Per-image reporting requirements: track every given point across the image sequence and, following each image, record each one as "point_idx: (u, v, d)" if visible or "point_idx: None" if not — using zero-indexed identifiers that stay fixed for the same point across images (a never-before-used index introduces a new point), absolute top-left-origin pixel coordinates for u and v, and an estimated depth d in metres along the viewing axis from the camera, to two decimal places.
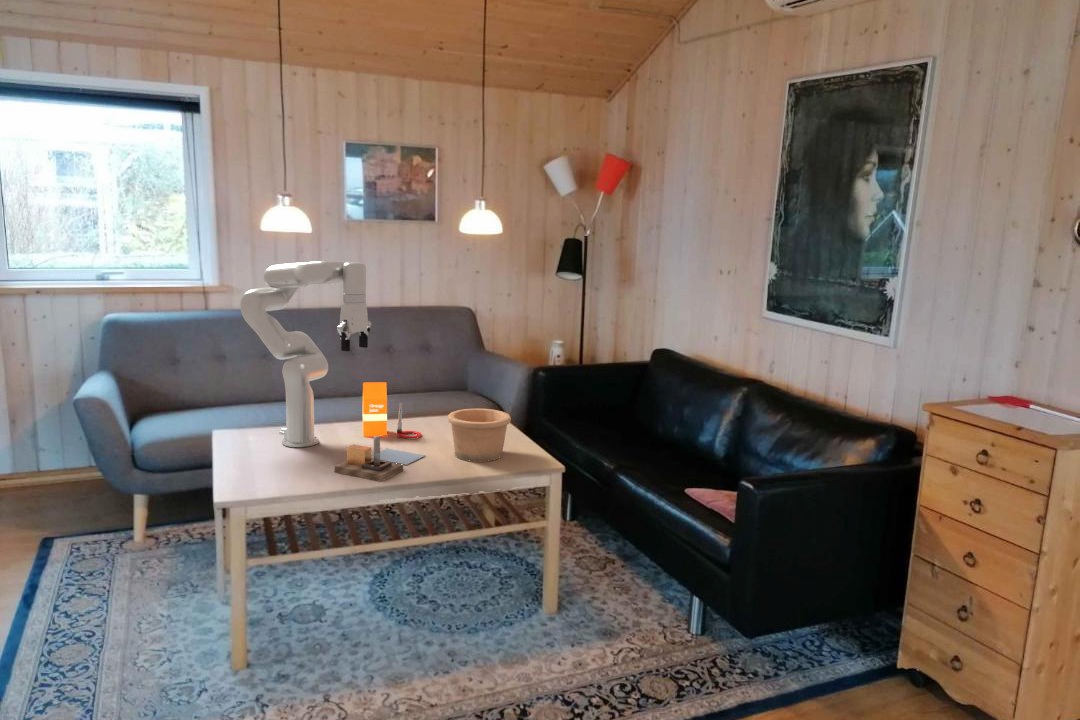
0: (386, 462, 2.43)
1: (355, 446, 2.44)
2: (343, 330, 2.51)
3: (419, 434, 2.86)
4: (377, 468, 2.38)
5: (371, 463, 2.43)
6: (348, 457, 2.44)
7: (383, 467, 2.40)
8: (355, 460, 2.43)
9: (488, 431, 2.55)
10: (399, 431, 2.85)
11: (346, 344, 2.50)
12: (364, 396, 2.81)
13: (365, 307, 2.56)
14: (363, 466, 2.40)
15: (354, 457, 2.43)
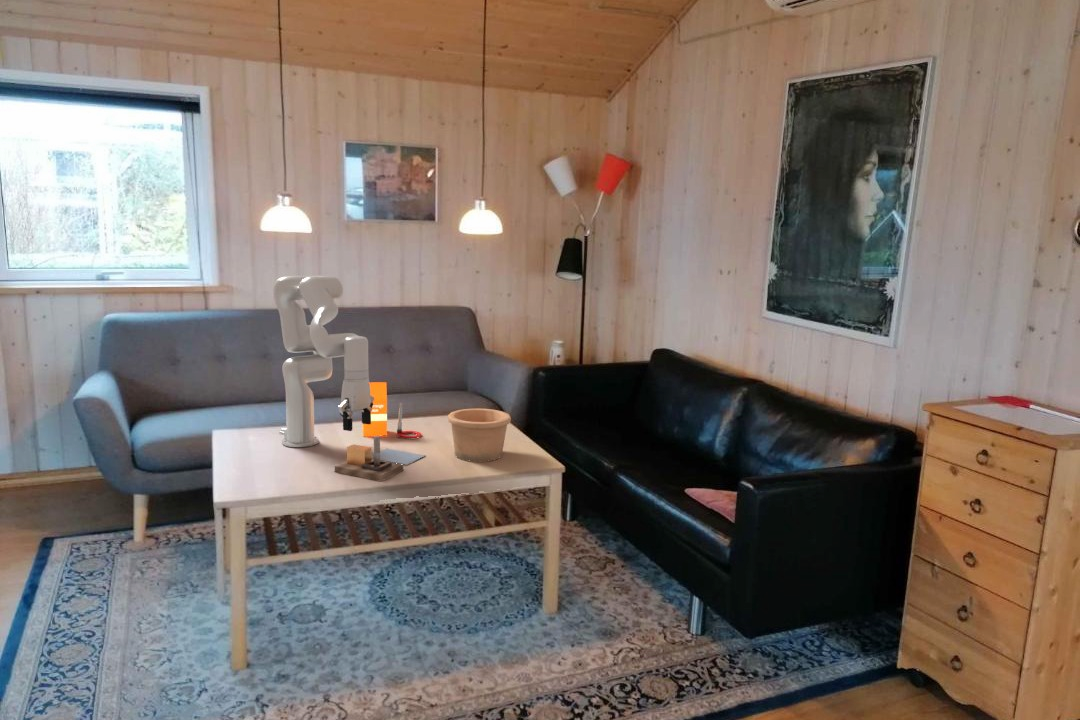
0: (386, 462, 2.43)
1: (355, 446, 2.44)
2: (345, 408, 2.38)
3: (419, 434, 2.86)
4: (377, 468, 2.38)
5: (371, 463, 2.43)
6: (348, 457, 2.44)
7: (383, 467, 2.40)
8: (355, 460, 2.43)
9: (488, 431, 2.55)
10: (399, 431, 2.85)
11: (348, 423, 2.37)
12: None
13: (368, 383, 2.42)
14: (363, 466, 2.40)
15: (354, 457, 2.43)
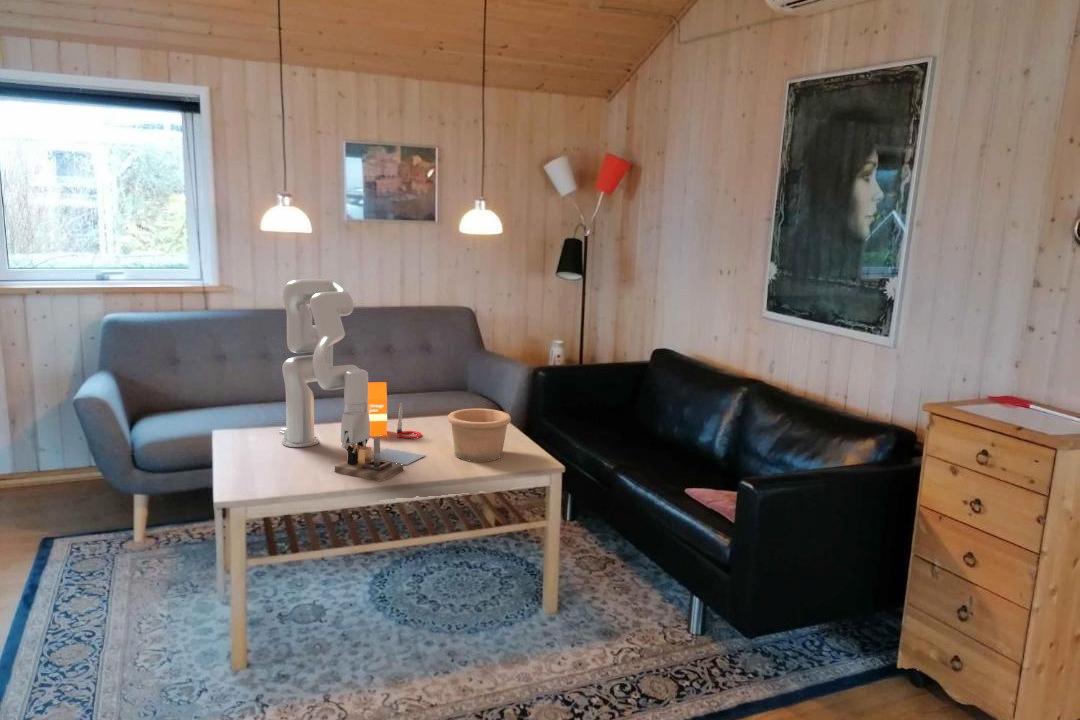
0: (386, 462, 2.43)
1: None
2: None
3: (419, 434, 2.86)
4: (377, 468, 2.38)
5: (371, 463, 2.43)
6: None
7: (383, 467, 2.40)
8: None
9: (488, 431, 2.55)
10: (399, 431, 2.85)
11: (353, 457, 2.42)
12: None
13: (367, 415, 2.44)
14: (363, 466, 2.40)
15: None
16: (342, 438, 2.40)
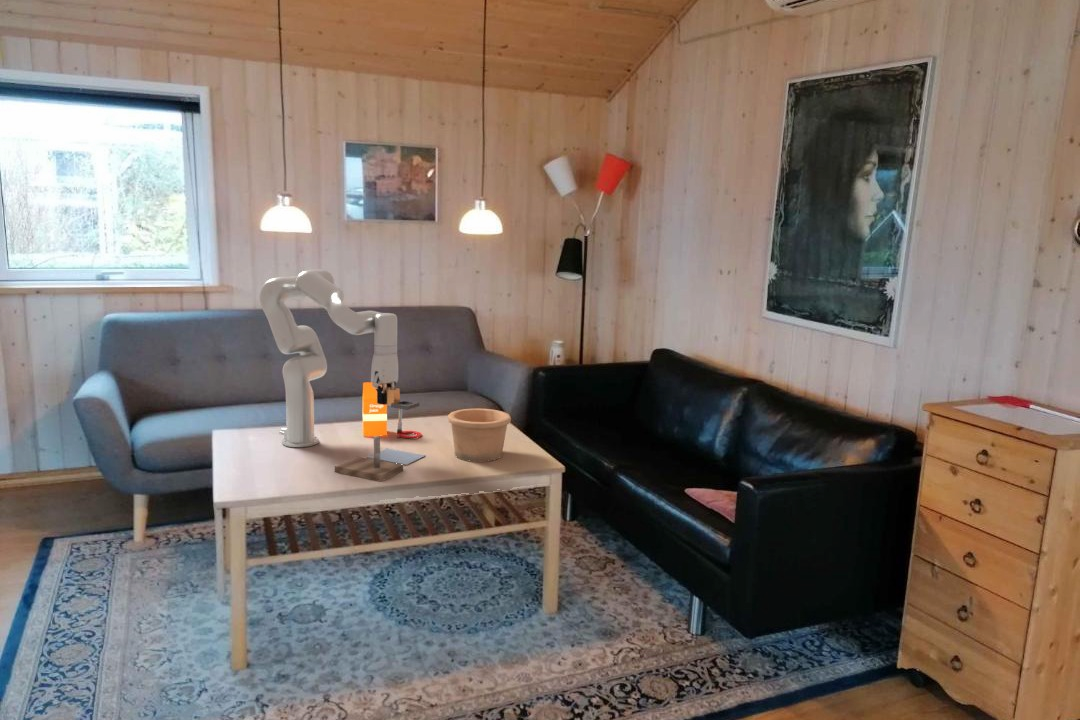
0: (414, 402, 2.55)
1: None
2: None
3: (419, 434, 2.86)
4: (406, 407, 2.49)
5: (400, 403, 2.55)
6: None
7: (411, 406, 2.51)
8: None
9: (488, 431, 2.55)
10: (399, 431, 2.85)
11: (382, 397, 2.54)
12: (364, 396, 2.81)
13: (396, 357, 2.56)
14: (392, 405, 2.52)
15: None
16: (372, 378, 2.51)
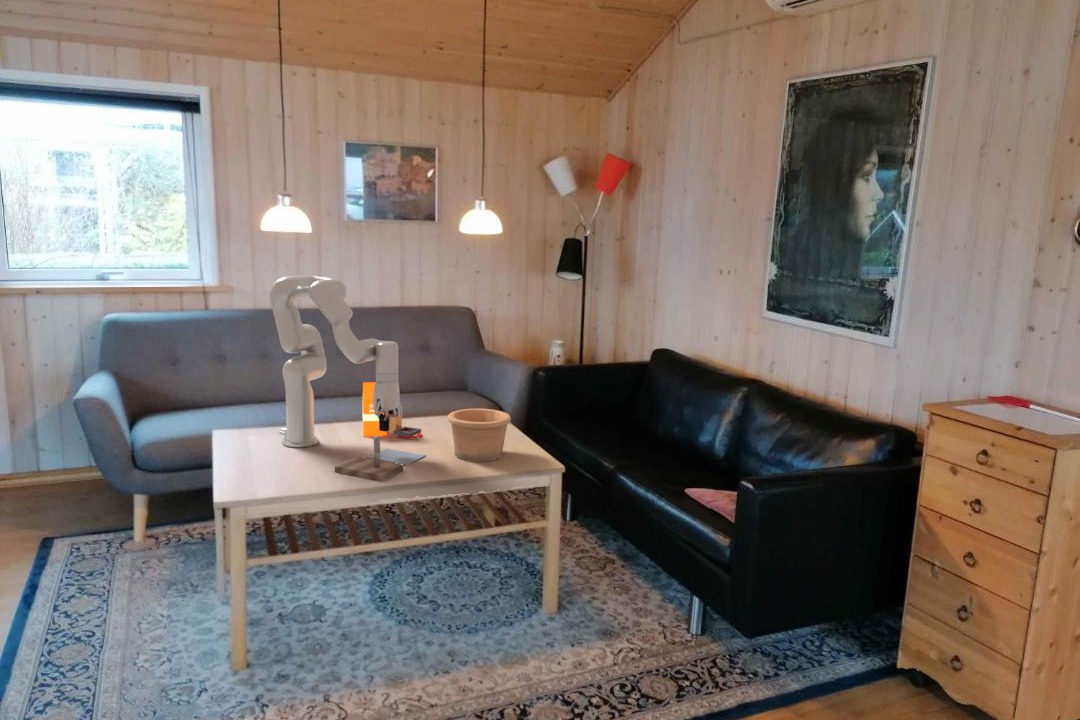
0: (416, 429, 2.57)
1: None
2: None
3: (419, 434, 2.86)
4: (408, 434, 2.52)
5: (402, 430, 2.57)
6: None
7: (413, 433, 2.54)
8: None
9: (488, 431, 2.55)
10: None
11: (384, 425, 2.56)
12: (364, 396, 2.81)
13: (397, 385, 2.58)
14: (394, 432, 2.54)
15: None
16: (374, 406, 2.54)
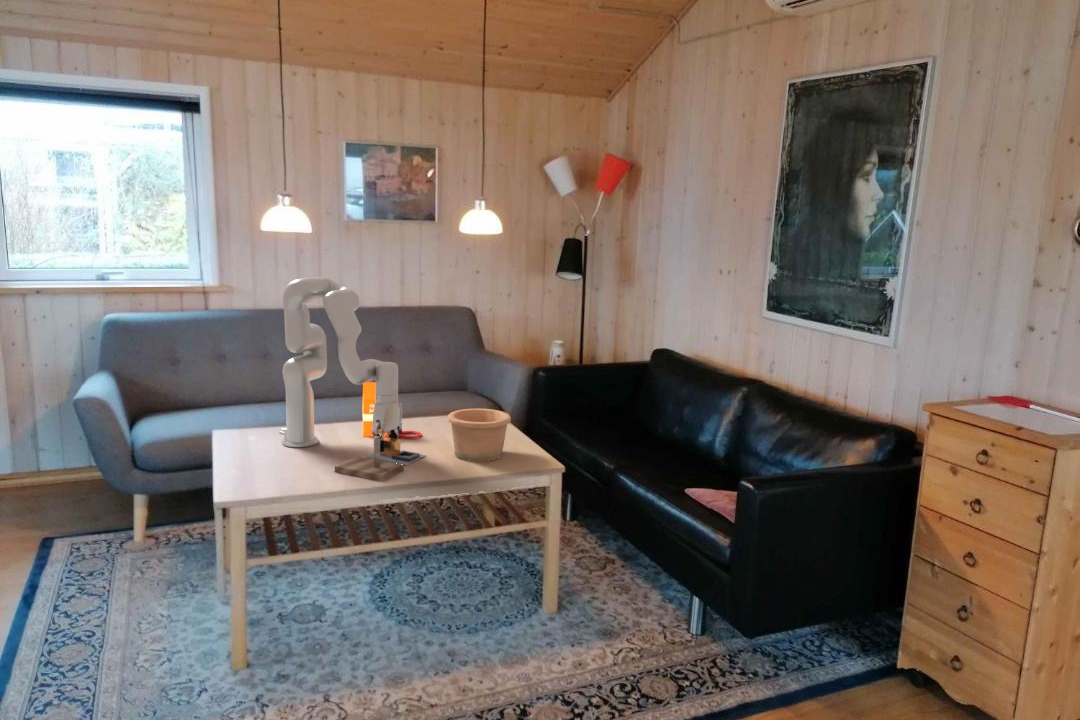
0: (414, 453, 2.59)
1: (385, 439, 2.60)
2: None
3: (419, 434, 2.86)
4: (407, 459, 2.54)
5: (400, 454, 2.59)
6: None
7: (412, 458, 2.55)
8: (385, 452, 2.59)
9: (488, 431, 2.55)
10: (399, 431, 2.85)
11: (381, 445, 2.56)
12: (364, 396, 2.81)
13: (397, 405, 2.60)
14: (393, 457, 2.56)
15: (385, 449, 2.59)
16: (374, 427, 2.55)
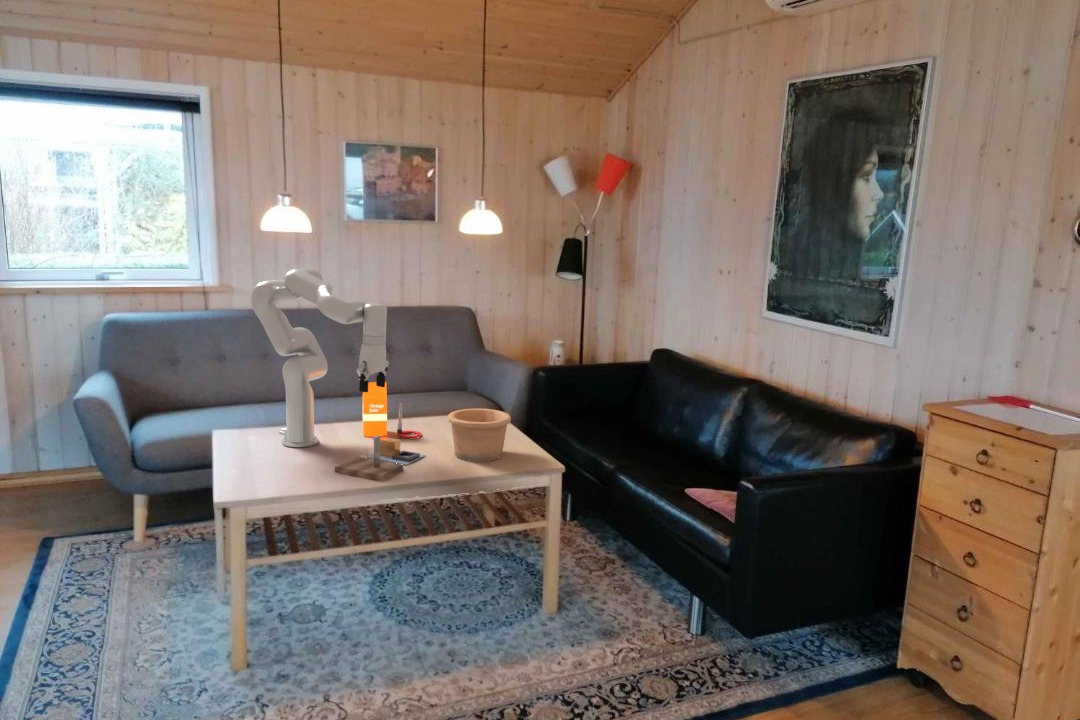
0: (414, 453, 2.59)
1: (385, 439, 2.60)
2: (362, 371, 2.52)
3: (419, 434, 2.86)
4: (407, 459, 2.54)
5: (400, 454, 2.59)
6: None
7: (412, 458, 2.55)
8: (385, 452, 2.59)
9: (488, 431, 2.55)
10: (399, 431, 2.85)
11: (364, 385, 2.51)
12: (364, 396, 2.81)
13: (384, 348, 2.56)
14: (393, 457, 2.56)
15: (385, 449, 2.59)
16: None
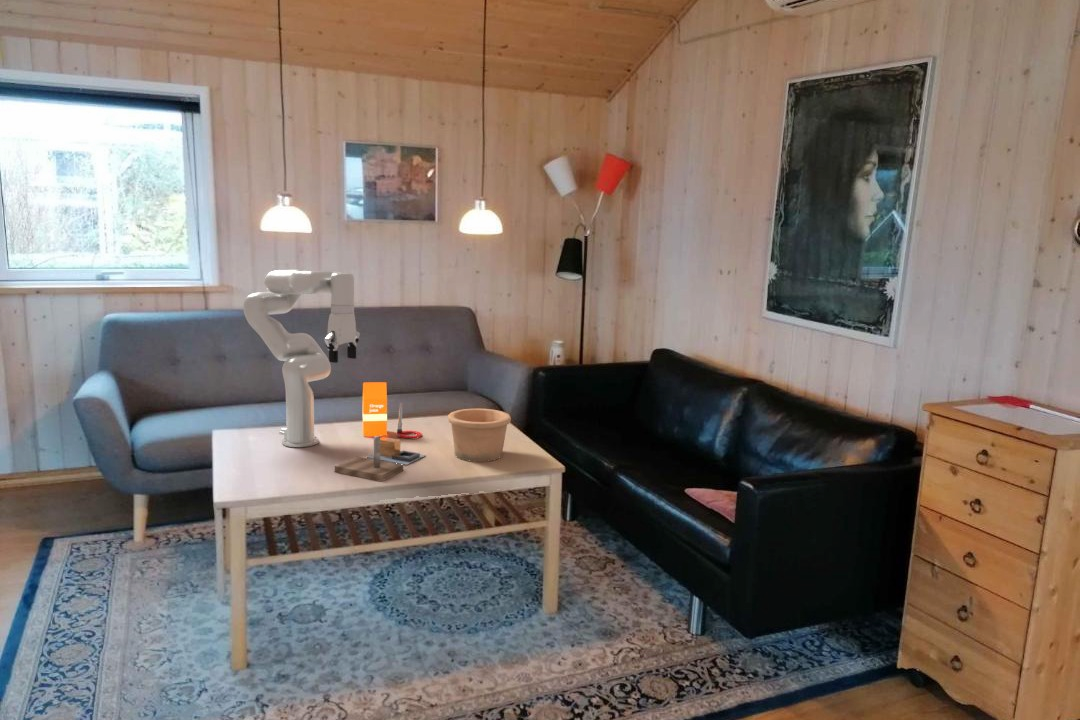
0: (414, 453, 2.59)
1: (385, 439, 2.60)
2: (331, 341, 2.49)
3: (419, 434, 2.86)
4: (407, 459, 2.54)
5: (400, 454, 2.59)
6: None
7: (412, 458, 2.55)
8: (385, 452, 2.59)
9: (488, 431, 2.55)
10: (399, 431, 2.85)
11: (334, 355, 2.48)
12: (364, 396, 2.81)
13: (353, 318, 2.53)
14: (393, 457, 2.56)
15: (385, 449, 2.59)
16: None
